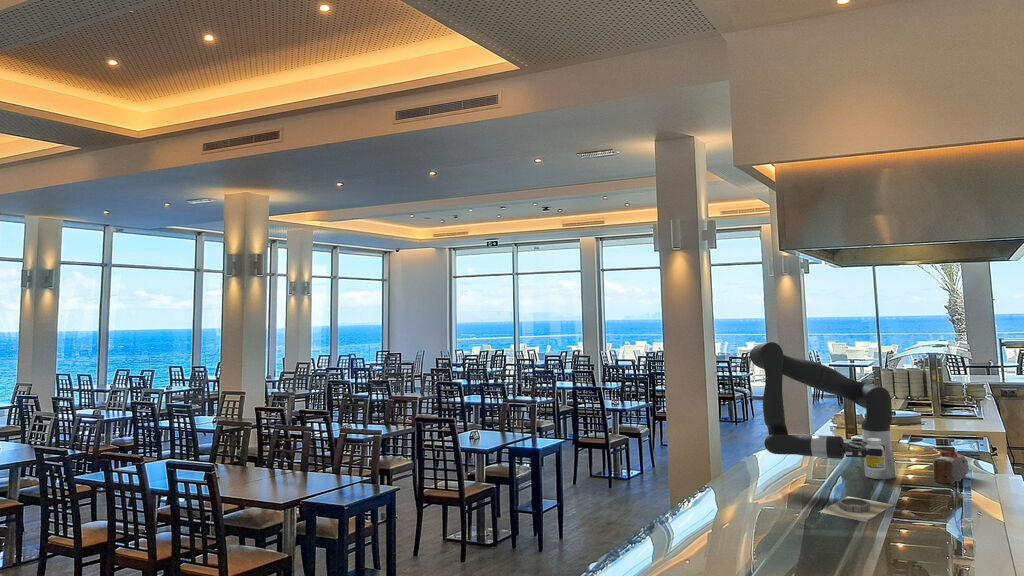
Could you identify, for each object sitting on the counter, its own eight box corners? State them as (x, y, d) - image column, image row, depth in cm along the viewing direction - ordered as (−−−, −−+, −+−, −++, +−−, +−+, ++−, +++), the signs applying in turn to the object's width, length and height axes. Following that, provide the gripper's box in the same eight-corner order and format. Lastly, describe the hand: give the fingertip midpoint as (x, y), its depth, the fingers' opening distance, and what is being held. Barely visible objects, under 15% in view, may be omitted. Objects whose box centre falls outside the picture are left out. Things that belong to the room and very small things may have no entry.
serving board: (848, 499, 221) (847, 496, 221) (893, 508, 210) (893, 504, 210) (818, 515, 208) (818, 511, 208) (865, 525, 197) (865, 521, 197)
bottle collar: (866, 504, 212) (865, 498, 212) (873, 513, 204) (872, 507, 204) (836, 503, 214) (836, 497, 214) (842, 512, 206) (841, 506, 206)
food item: (945, 473, 243) (943, 446, 243) (971, 477, 236) (969, 449, 237) (931, 482, 234) (929, 453, 234) (957, 486, 228) (955, 457, 228)
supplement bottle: (883, 471, 215) (881, 441, 215) (865, 469, 219) (862, 440, 219) (887, 467, 220) (884, 438, 220) (868, 465, 223) (866, 436, 223)
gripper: (822, 440, 222) (879, 444, 212) (830, 431, 234) (885, 434, 224) (823, 463, 222) (881, 467, 212) (832, 452, 233) (887, 456, 224)
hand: (883, 450), depth 218 cm, fingers closed on supplement bottle, 5 cm apart
